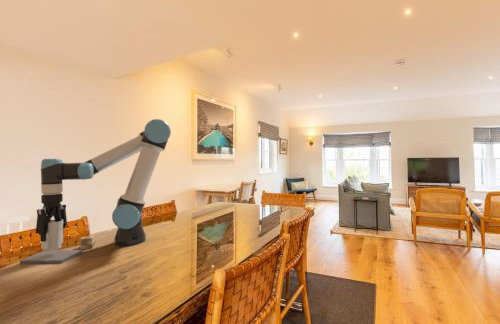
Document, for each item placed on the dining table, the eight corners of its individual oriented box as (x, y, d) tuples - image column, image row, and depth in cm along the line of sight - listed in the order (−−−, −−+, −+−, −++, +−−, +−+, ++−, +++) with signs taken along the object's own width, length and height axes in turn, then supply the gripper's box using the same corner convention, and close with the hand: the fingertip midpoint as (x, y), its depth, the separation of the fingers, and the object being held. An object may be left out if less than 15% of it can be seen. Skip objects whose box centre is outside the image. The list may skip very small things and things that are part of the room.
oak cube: (94, 245, 134) (94, 235, 134) (92, 248, 129) (92, 238, 129) (83, 246, 132) (83, 236, 133) (80, 249, 128) (80, 239, 128)
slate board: (82, 252, 123) (82, 250, 123) (62, 263, 110) (61, 260, 110) (45, 252, 123) (45, 250, 123) (20, 263, 110) (20, 260, 110)
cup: (51, 251, 112) (51, 223, 112) (36, 250, 113) (35, 222, 114) (68, 246, 120) (67, 219, 120) (53, 245, 121) (53, 219, 121)
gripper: (61, 191, 127) (61, 239, 127) (23, 196, 107) (23, 253, 107) (76, 191, 127) (76, 239, 127) (41, 196, 106) (41, 253, 106)
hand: (52, 245), depth 117 cm, fingers closed on cup, 7 cm apart
